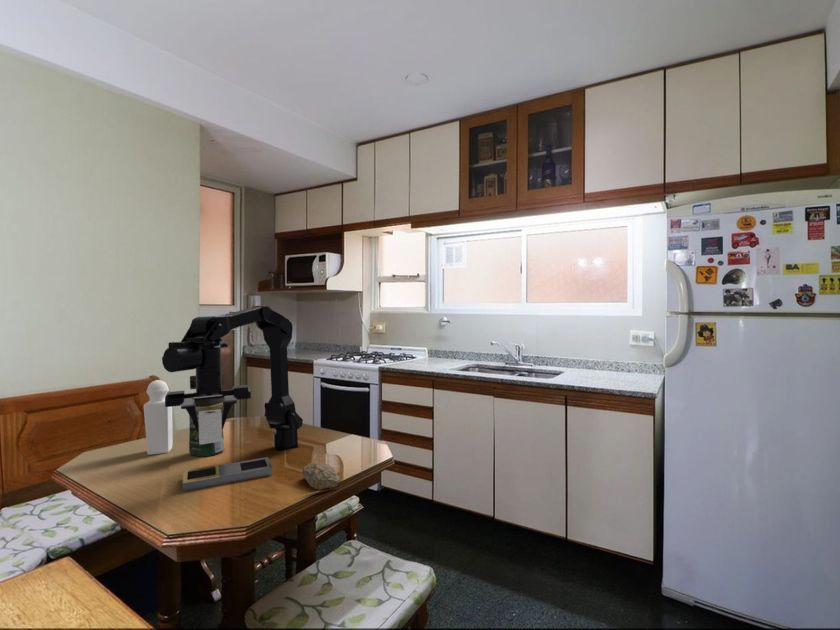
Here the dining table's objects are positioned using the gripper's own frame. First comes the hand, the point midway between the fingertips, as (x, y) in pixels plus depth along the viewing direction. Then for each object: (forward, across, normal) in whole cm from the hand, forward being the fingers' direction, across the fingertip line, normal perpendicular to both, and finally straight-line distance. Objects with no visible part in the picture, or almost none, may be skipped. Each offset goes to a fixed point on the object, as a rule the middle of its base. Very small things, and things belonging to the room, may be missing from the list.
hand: (210, 430), depth 108 cm
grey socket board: (+13, -4, 0) cm, 13 cm away
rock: (+13, -24, +15) cm, 31 cm away
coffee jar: (+13, +1, -26) cm, 29 cm away
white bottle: (+13, +13, -37) cm, 41 cm away
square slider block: (+2, 0, 0) cm, 3 cm away
